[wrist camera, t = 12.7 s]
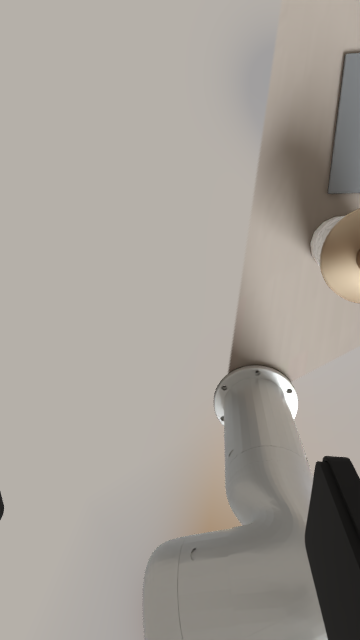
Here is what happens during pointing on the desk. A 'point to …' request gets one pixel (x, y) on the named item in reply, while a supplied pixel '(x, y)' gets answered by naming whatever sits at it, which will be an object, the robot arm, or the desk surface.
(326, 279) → the lid
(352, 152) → the mat
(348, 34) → the desk surface
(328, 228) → the white cup
